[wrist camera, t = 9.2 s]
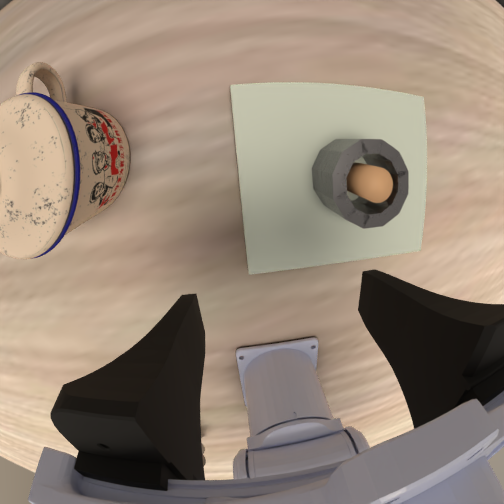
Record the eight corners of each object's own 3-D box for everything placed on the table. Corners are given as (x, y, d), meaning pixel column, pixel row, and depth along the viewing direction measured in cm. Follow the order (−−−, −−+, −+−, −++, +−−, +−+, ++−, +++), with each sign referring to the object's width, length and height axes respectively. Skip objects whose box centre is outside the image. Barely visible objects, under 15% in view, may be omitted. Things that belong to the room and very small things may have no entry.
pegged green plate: (414, 246, 23) (450, 271, 18) (247, 269, 22) (255, 306, 17) (416, 97, 18) (459, 93, 13) (229, 87, 17) (231, 67, 12)
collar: (379, 208, 20) (407, 223, 16) (314, 216, 20) (334, 232, 16) (377, 139, 18) (407, 140, 14) (309, 140, 18) (329, 139, 14)
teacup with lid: (144, 206, 19) (67, 274, 9) (53, 226, 19) (-36, 290, 8) (125, 58, 15) (42, -2, 4) (34, 96, 14) (-64, 90, 4)
